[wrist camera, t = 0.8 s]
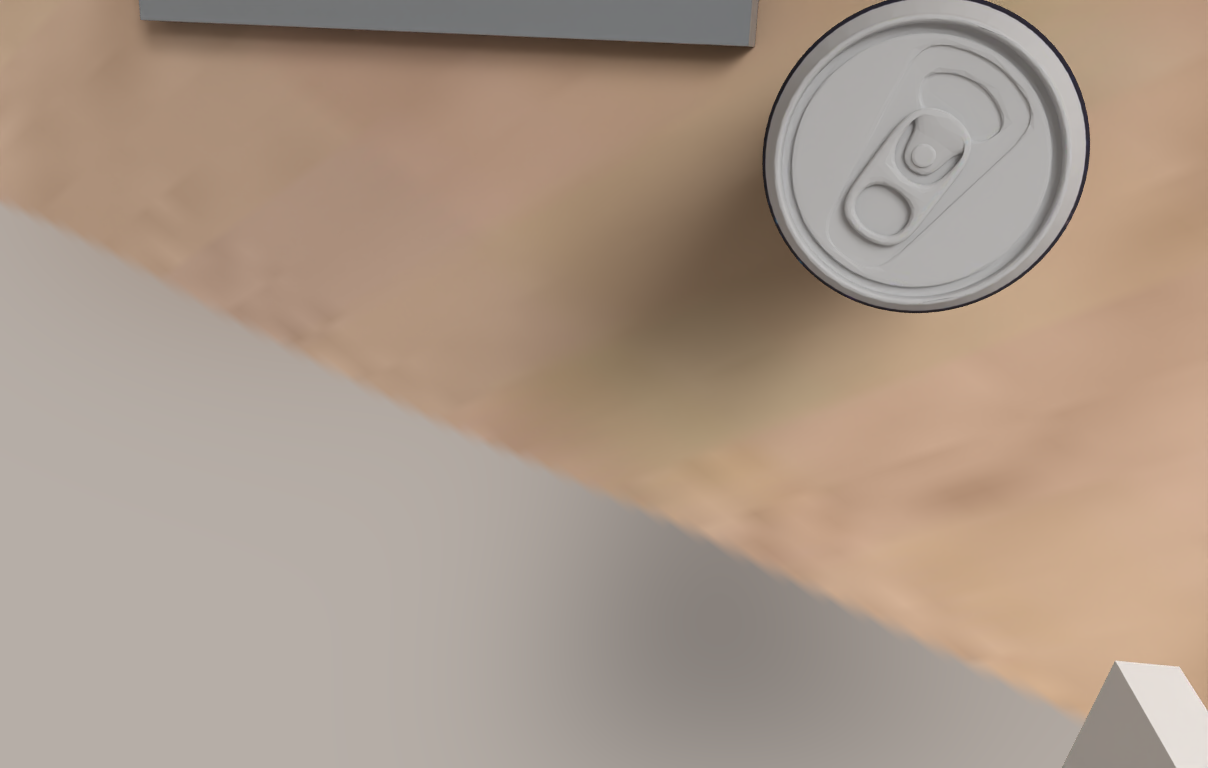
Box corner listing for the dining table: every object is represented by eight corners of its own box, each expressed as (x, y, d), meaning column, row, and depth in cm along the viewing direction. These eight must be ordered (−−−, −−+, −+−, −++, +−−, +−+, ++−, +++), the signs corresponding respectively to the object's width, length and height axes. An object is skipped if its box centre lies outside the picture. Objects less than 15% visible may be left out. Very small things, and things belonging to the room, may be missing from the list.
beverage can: (1088, 101, 27) (1181, 117, 16) (947, 274, 30) (946, 390, 19) (909, -21, 28) (883, -84, 17) (783, 158, 30) (689, 205, 19)
